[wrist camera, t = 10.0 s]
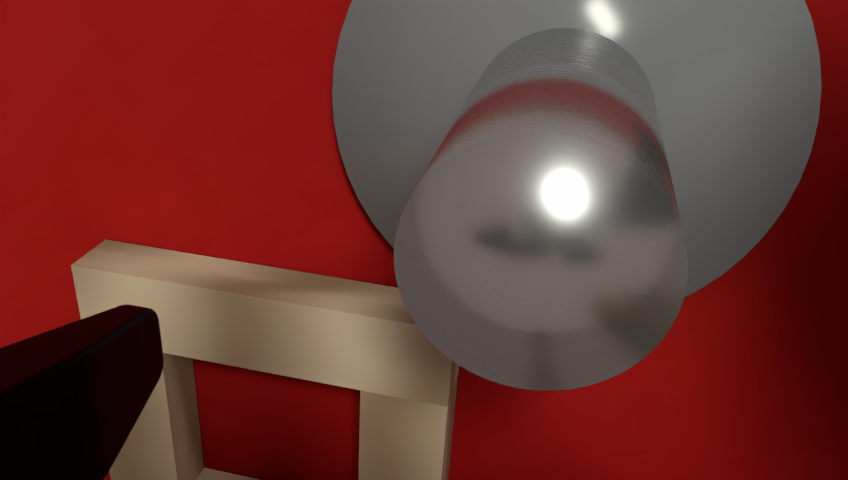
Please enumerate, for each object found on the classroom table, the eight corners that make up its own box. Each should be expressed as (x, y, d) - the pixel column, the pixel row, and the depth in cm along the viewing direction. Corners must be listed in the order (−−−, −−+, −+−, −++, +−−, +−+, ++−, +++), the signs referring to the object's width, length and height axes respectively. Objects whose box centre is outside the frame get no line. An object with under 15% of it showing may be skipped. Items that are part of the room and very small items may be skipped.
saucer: (888, -128, 16) (898, -128, 15) (743, 344, 21) (746, 356, 21) (340, -161, 18) (332, -162, 17) (338, 277, 23) (332, 287, 23)
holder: (465, 298, 22) (454, 331, 21) (439, 570, 28) (429, 612, 26) (105, 239, 24) (70, 265, 23) (147, 504, 30) (121, 539, 28)
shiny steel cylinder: (673, 39, 17) (721, 155, 10) (636, 216, 19) (654, 413, 12) (478, 18, 18) (399, 115, 11) (463, 192, 20) (388, 364, 13)
